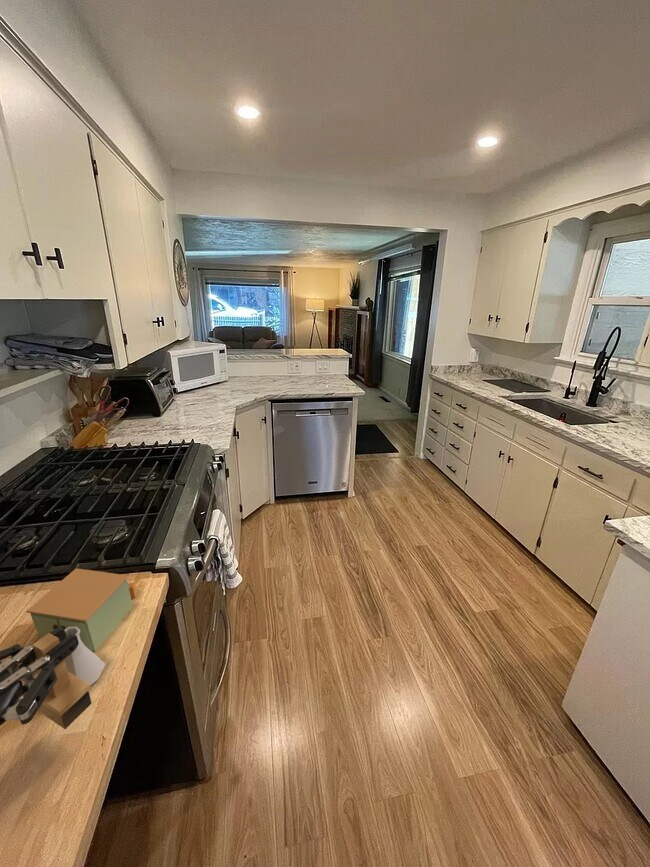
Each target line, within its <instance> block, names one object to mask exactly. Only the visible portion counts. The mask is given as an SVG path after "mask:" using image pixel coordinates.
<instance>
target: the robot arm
mask: <svg viewBox="0 0 650 867" xmlns="http://www.w3.org/2000/svg"><path fill="white" fill-rule="evenodd" d="M50 634H52V635H54V636H56V637H57V638H59V642H60V643H59V644H58V645H56V646H55V647H54V648H53V649H51V650H50V651H49V652H48V653H47V655H45V656H43V657H41V658H40V659H39V660H37V659H36V655H35V652H34V649H33V646H32V645H33V644H30V645H29V644H28V645H27V646H25V647H23V646H21V644H19V643H18V644H14V645H12V646H9V647H8V648H5V649H3V650H0V726H2V725H4V724H5V723H6V722H7V721H14V720H15V721H16V720H19V722H20V724H21V725H27V724H29V723H30V722H31V721H32V720H33V719H34V717H35V716H36V714H37V712H39V711H38V709H39V708H40V706H41V704H42V703H43V701H44V700H45V698H46V697H47V695H48V693H49V692H50V690H51V689H52V687H53V686H54V684H55V682H56V681H57V676H56V673H55V667H56V666H57V665H58V664H59V663H60V662H62V661H63V660H64V659H65V658H66V657H67V656H69V655H70V654H71V653H72V652H74V651H75V649H76V648H77V646H78V644H79V642H78V638H77V636H76V635H74V634H70V635H69V636H68V637H66V633H65V630H64V629H63V628H61V627H59V628H57V629H56V630H54V631H52V632H50ZM40 669H41V671H40ZM22 680H23V683H22Z"/></svg>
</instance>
